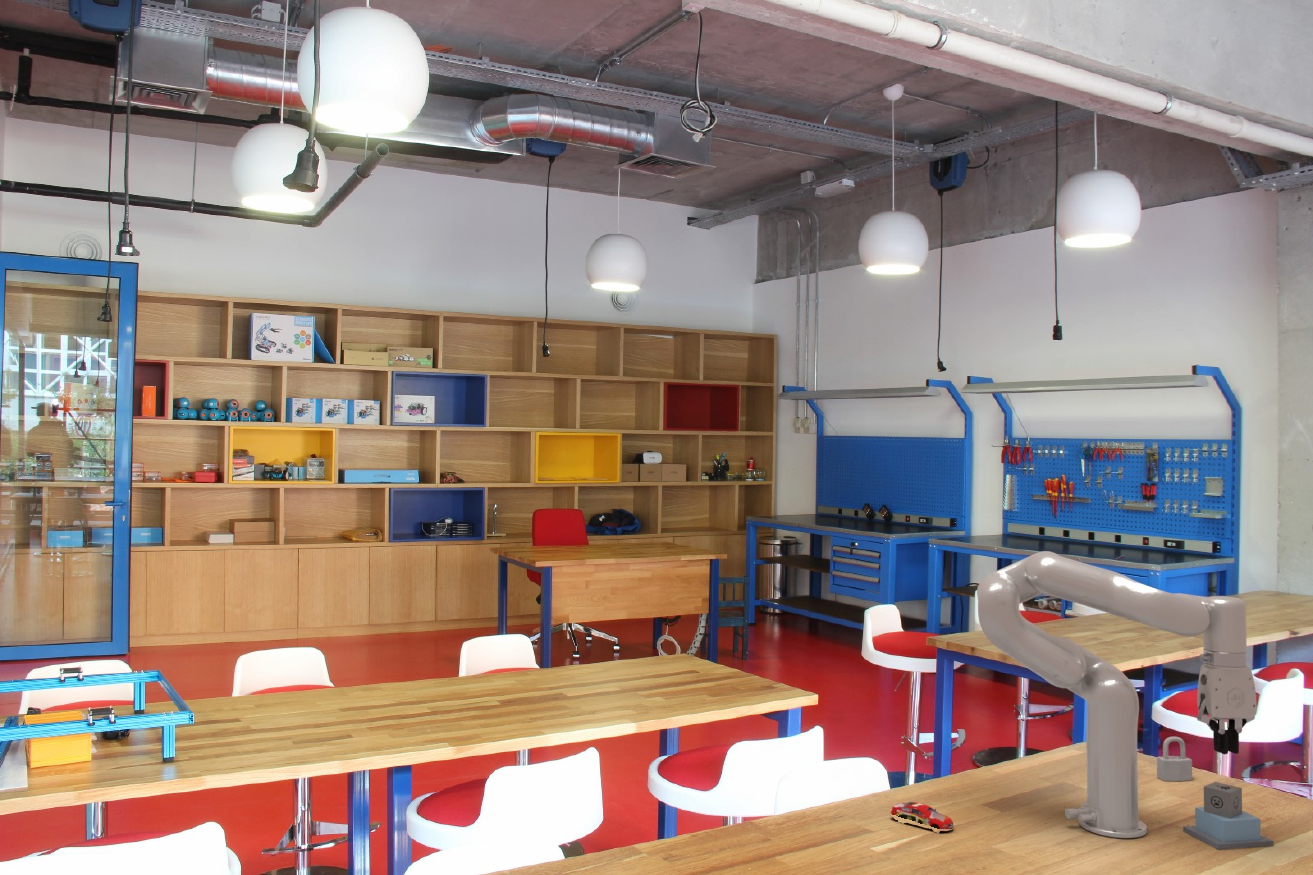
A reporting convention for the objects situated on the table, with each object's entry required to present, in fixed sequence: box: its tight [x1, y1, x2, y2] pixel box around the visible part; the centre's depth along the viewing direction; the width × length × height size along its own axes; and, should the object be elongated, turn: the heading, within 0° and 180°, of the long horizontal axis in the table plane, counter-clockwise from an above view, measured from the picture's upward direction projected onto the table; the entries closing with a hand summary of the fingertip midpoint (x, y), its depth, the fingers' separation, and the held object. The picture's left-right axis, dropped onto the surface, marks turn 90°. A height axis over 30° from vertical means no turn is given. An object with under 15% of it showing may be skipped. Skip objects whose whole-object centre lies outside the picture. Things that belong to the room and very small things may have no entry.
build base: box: [1182, 806, 1275, 851], centre depth 201 cm, size 12×10×5 cm
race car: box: [890, 801, 954, 829], centre depth 209 cm, size 13×5×4 cm, turn 46°
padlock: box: [1156, 736, 1193, 782], centre depth 239 cm, size 7×4×10 cm, turn 95°
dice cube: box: [1203, 781, 1243, 819], centre depth 201 cm, size 5×5×5 cm
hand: (1226, 751), depth 201 cm, fingers closed
